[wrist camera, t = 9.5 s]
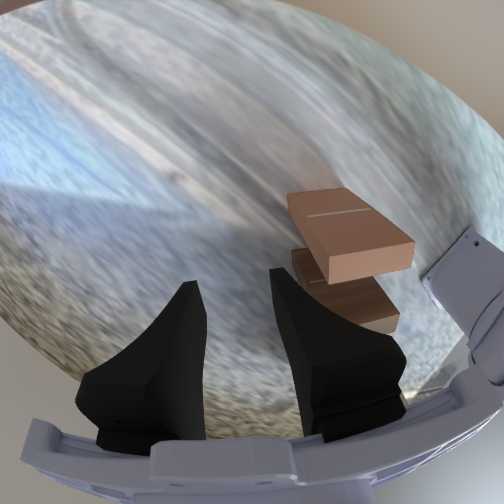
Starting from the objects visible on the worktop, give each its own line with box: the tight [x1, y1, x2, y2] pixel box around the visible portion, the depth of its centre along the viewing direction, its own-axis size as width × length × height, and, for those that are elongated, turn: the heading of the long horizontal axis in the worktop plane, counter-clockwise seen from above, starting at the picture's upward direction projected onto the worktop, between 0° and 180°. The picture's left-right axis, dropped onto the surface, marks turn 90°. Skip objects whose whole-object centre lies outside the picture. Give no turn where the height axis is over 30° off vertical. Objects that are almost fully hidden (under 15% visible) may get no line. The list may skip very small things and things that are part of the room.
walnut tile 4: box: [292, 248, 400, 334], centre depth 20 cm, size 2×5×10 cm, turn 97°
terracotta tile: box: [287, 188, 415, 285], centre depth 17 cm, size 2×5×10 cm, turn 97°
